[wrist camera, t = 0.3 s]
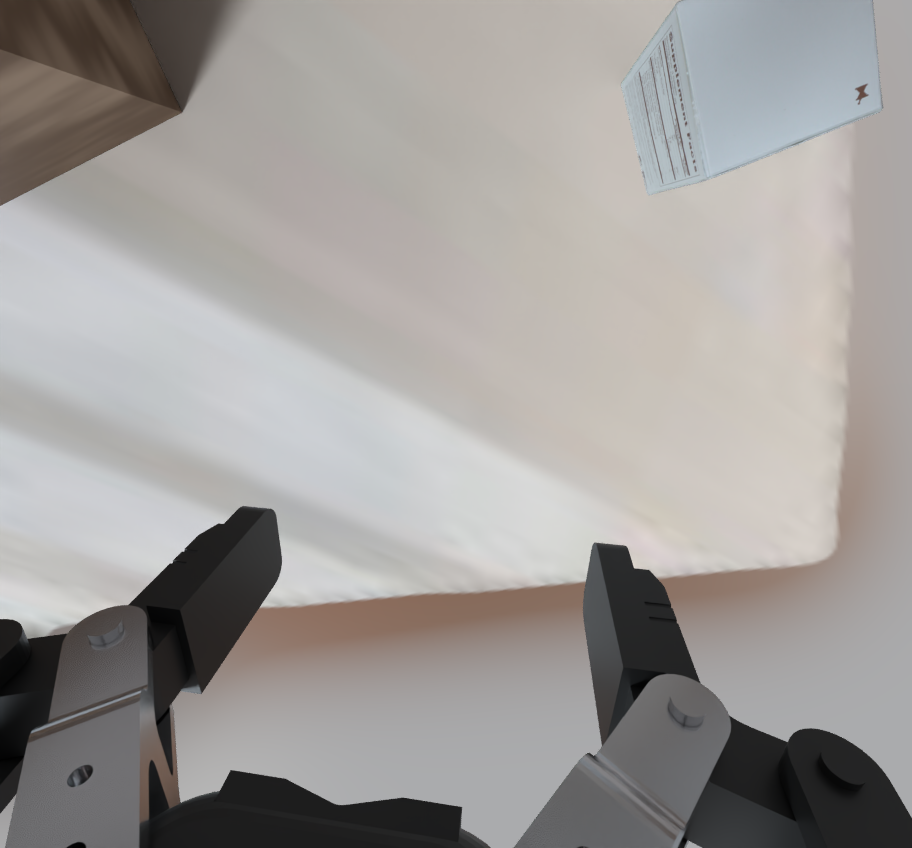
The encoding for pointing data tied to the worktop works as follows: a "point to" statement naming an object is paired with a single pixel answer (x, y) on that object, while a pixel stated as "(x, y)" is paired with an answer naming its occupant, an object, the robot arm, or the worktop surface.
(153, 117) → the walnut stand
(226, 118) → the worktop surface
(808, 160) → the worktop surface
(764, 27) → the supplement box
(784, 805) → the robot arm
